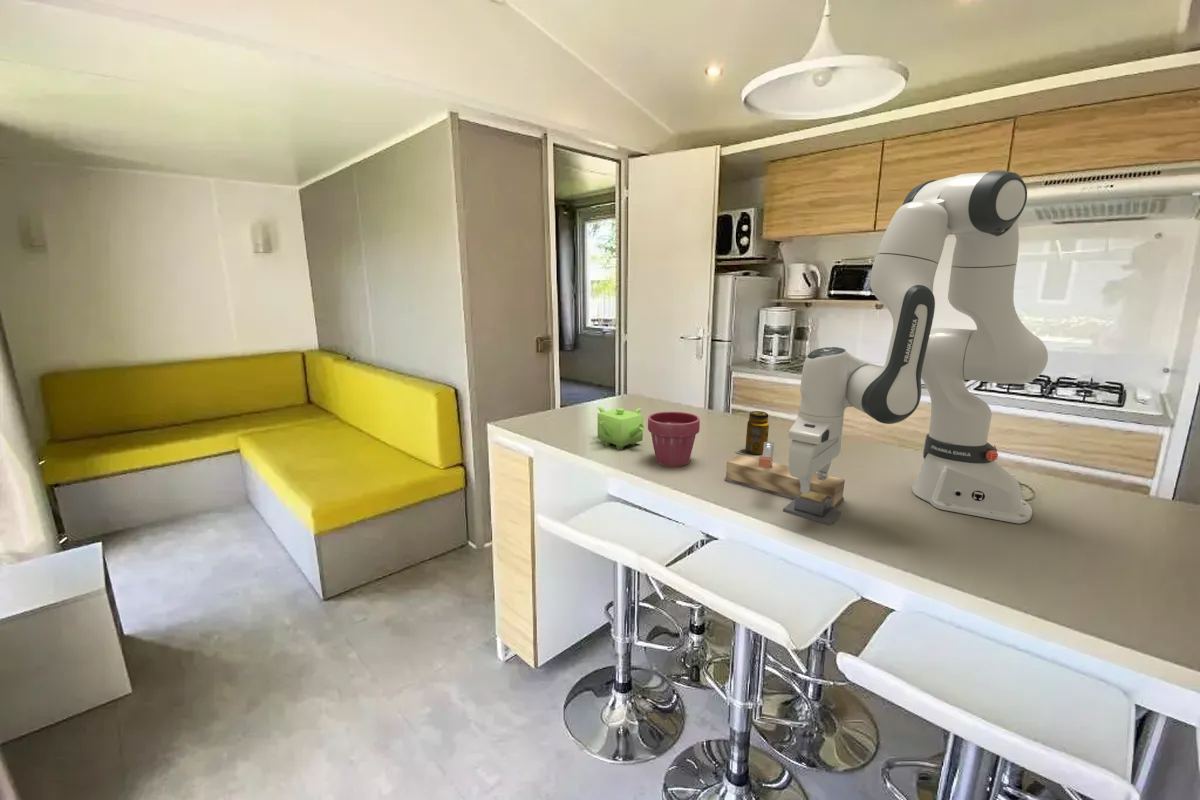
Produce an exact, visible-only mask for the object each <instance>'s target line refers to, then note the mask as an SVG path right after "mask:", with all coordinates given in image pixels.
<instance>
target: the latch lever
mask: <svg viewBox="0 0 1200 800" xmlns="http://www.w3.org/2000/svg"><path fill="white" fill-rule="evenodd" d="M774 450H775V443H774V442H772V441H768V442H764V447H763V455H762V456H760V458H758V459H759V467H766V468H770V467H772V464H773V463H774V461H773V460H774Z"/></svg>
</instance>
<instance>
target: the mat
mask: <svg viewBox="0 0 1200 800" xmlns="http://www.w3.org/2000/svg"><path fill="white" fill-rule="evenodd" d="M794 507H795V499H792V500H791V501H790V502H789V503H788V504H787V505H785V506H784V507H783V508H782V512H784V513H788V514H791V515H794V516H798V517H802V518H805V519H809V520H811V521H816V522H818V523H821V522H822V523H823V524H825V525H829V526H831V525H832V524H833V523H834V522H835V521H836V519H838V518H839V516H840V515H841V513H842V511H841V510H838V509H836V508H835V509H831V508H830V511H829V512H828V513H827V514H826V515H825V516H824V517H823V518H821V517H818V516H814V515H811V514H807V513H804V512H800V511H797V510H794ZM832 522H833V523H832Z"/></svg>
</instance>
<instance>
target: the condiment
mask: <svg viewBox="0 0 1200 800" xmlns="http://www.w3.org/2000/svg"><path fill="white" fill-rule="evenodd" d="M748 415H749V416H748V421H747V425H746V435H745V436H746V438H745V448H742V449H739V450H737V451H735V453H737V454H739V455H743V456H747V457H752V458H756V459H759V458H760V456H762V455H763V447H764V442H769V441H768V440H769V438H768V437H769V430H770V429H769V428H770V427H769V426H770V424H769V413H767V412H765V411H761V410H760V411H759V410H753V411H750V412H749V413H748Z"/></svg>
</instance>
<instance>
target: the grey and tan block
mask: <svg viewBox="0 0 1200 800" xmlns="http://www.w3.org/2000/svg"><path fill="white" fill-rule="evenodd" d="M831 499H832V497H828V496H827V495H824V494H820V493H817V492H813V491H811V492H809V493H808V494H804V493H800V494H799V495H797V496H796V497H795V507H794V510H797V511H800V512H804V513H807V514H811V515H814V516H818V517H821V518H823V517H824V516H825V515H826V514H827V513H828V512H829V511H830V508H831Z"/></svg>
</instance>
